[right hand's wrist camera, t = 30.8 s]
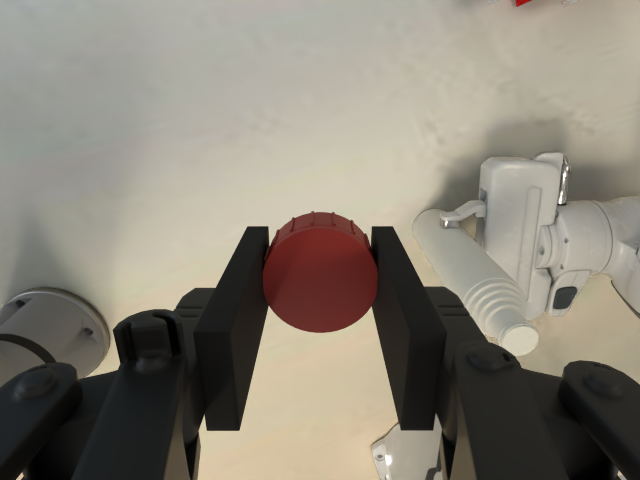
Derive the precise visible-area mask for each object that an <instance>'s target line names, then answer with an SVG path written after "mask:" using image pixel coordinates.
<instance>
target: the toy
mask: <svg viewBox="0 0 640 480" xmlns="http://www.w3.org/2000/svg"><path fill="white" fill-rule="evenodd" d="M496 1H498V0H488V3H489V4H492V3H494V2H496ZM515 1H516V6H517V7H518V6H520V5H522V4H524V3H527V2H529V1H531V0H515ZM577 1H580V0H563V1H561V2H562V5H563V7H564V6H567V5H569V4H572V3H575V2H577Z"/></svg>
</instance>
